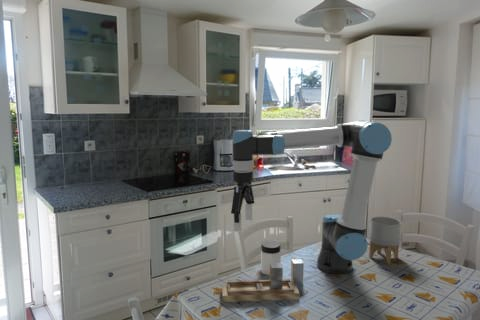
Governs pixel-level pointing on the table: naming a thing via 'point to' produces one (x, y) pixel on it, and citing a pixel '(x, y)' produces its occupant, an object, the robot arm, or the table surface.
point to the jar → (269, 255)
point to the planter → (384, 236)
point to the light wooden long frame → (261, 288)
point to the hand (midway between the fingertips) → (243, 224)
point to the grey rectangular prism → (297, 271)
